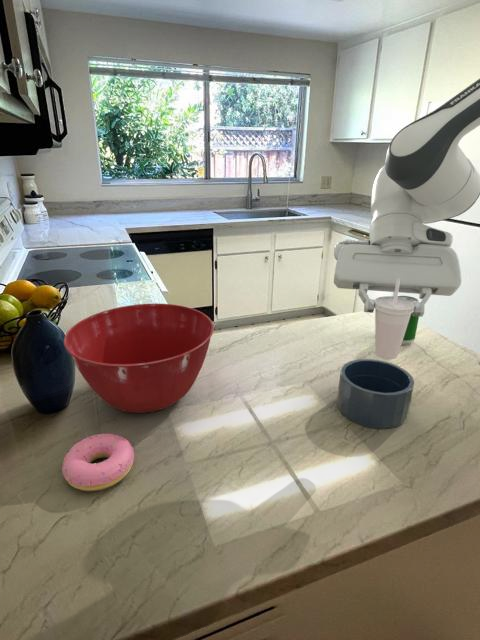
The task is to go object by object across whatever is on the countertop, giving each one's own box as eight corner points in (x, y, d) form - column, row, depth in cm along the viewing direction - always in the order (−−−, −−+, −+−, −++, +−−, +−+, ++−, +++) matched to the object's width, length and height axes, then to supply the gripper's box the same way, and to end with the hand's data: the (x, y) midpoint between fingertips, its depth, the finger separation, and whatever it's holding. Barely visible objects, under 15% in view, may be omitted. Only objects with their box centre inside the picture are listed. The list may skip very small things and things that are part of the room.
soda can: (420, 342, 110) (428, 301, 105) (401, 348, 106) (409, 306, 101) (397, 332, 116) (404, 292, 111) (379, 337, 112) (385, 297, 107)
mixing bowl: (138, 461, 67) (129, 381, 61) (47, 401, 83) (33, 332, 77) (241, 388, 87) (241, 323, 81) (153, 351, 103) (148, 294, 97)
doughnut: (138, 444, 71) (136, 425, 69) (132, 493, 60) (129, 471, 59) (73, 450, 69) (69, 430, 67) (55, 500, 59) (50, 479, 57)
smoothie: (366, 360, 68) (377, 280, 63) (367, 344, 74) (377, 270, 68) (407, 365, 66) (422, 284, 61) (404, 349, 72) (418, 273, 66)
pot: (402, 393, 86) (407, 363, 83) (412, 433, 74) (420, 399, 71) (337, 386, 89) (340, 355, 86) (337, 423, 76) (341, 389, 74)
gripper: (336, 229, 71) (330, 299, 66) (462, 234, 66) (466, 310, 61) (334, 248, 76) (328, 315, 71) (450, 254, 72) (453, 325, 67)
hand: (393, 313), depth 66 cm, fingers closed on smoothie, 6 cm apart
